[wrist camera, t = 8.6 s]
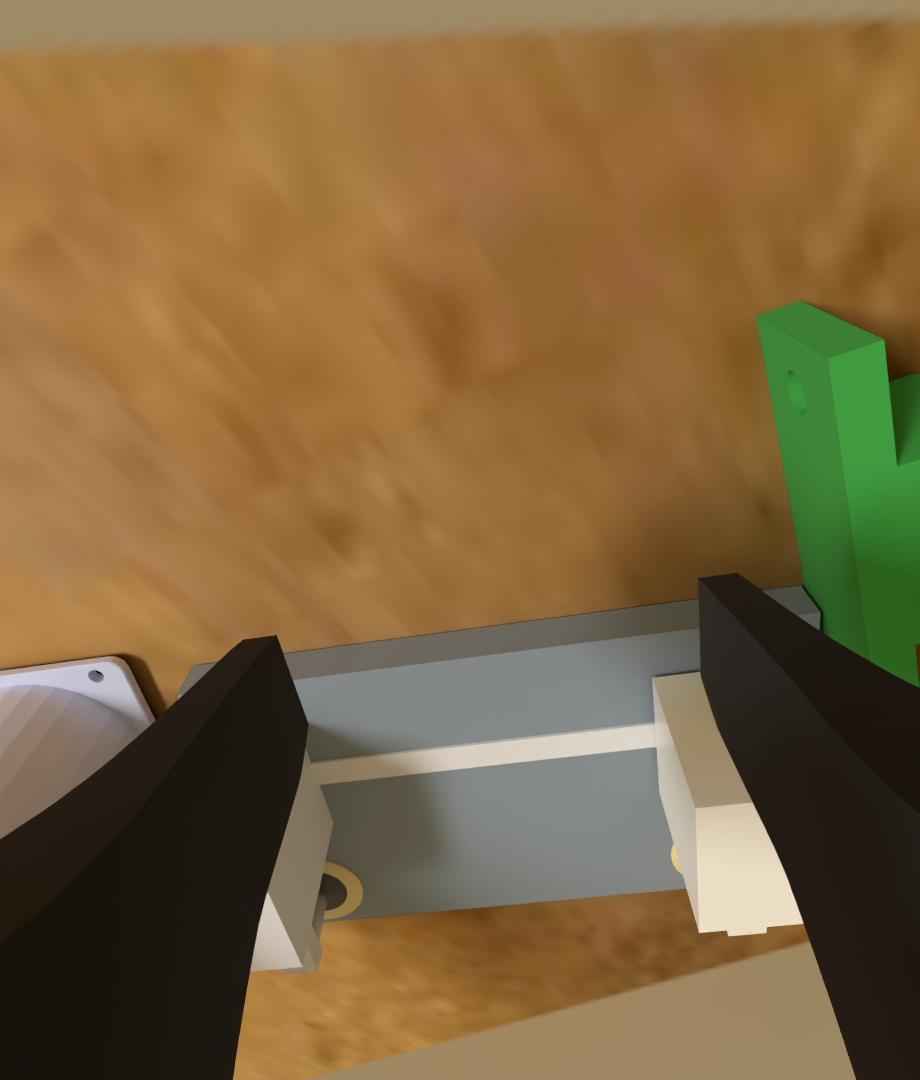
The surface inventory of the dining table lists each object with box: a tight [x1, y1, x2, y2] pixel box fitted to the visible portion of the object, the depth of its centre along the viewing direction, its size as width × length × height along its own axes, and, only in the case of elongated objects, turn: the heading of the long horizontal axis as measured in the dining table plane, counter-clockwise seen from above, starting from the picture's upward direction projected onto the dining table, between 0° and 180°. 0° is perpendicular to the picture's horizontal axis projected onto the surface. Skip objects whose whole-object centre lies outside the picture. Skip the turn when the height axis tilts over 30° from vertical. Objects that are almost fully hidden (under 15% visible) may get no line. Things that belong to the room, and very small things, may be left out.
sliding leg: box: [652, 672, 804, 936], centre depth 22 cm, size 4×9×5 cm, turn 10°
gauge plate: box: [177, 586, 821, 974], centre depth 23 cm, size 20×12×7 cm, turn 100°
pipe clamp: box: [756, 301, 920, 687], centre depth 19 cm, size 11×4×5 cm, turn 21°
